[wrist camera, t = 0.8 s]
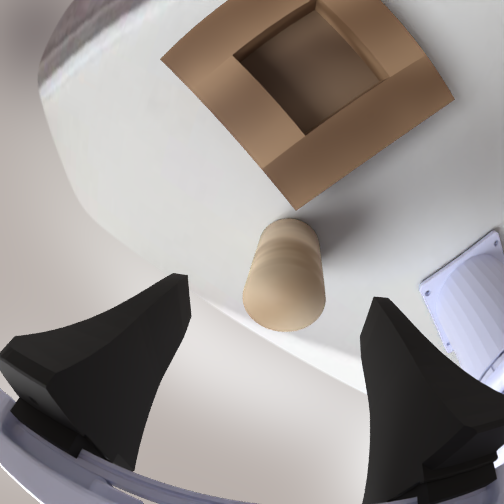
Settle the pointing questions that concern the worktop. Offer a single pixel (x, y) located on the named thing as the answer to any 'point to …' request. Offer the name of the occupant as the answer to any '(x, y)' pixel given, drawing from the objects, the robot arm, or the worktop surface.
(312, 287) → the pin
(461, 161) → the worktop surface
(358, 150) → the socket block
